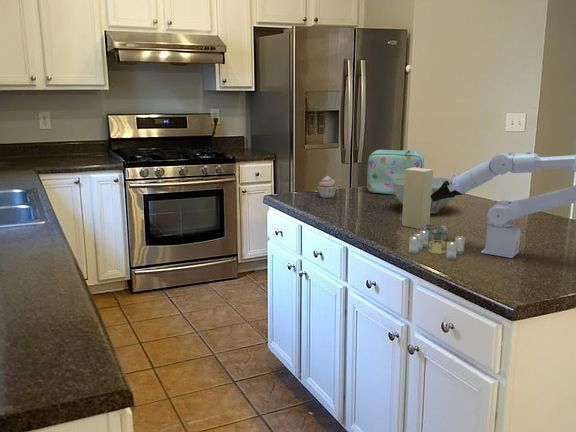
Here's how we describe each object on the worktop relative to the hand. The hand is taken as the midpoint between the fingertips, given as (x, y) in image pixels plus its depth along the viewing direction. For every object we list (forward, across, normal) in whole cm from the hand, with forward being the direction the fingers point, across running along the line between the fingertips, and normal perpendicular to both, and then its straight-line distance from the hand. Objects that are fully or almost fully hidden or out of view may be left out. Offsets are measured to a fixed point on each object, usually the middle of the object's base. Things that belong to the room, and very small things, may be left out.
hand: (435, 197), depth 183 cm
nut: (+5, +7, +16) cm, 18 cm away
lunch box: (+42, -74, -16) cm, 87 cm away
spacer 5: (0, +5, +19) cm, 19 cm away
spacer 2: (+10, +8, +12) cm, 18 cm away
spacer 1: (+10, +12, +13) cm, 20 cm away
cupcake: (+63, -49, -27) cm, 84 cm away
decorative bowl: (+23, -47, -1) cm, 52 cm away
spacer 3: (+10, +4, +12) cm, 16 cm away
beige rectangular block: (+19, -20, +4) cm, 28 cm away
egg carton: (+10, -10, +11) cm, 18 cm away
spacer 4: (0, +12, +19) cm, 23 cm away
